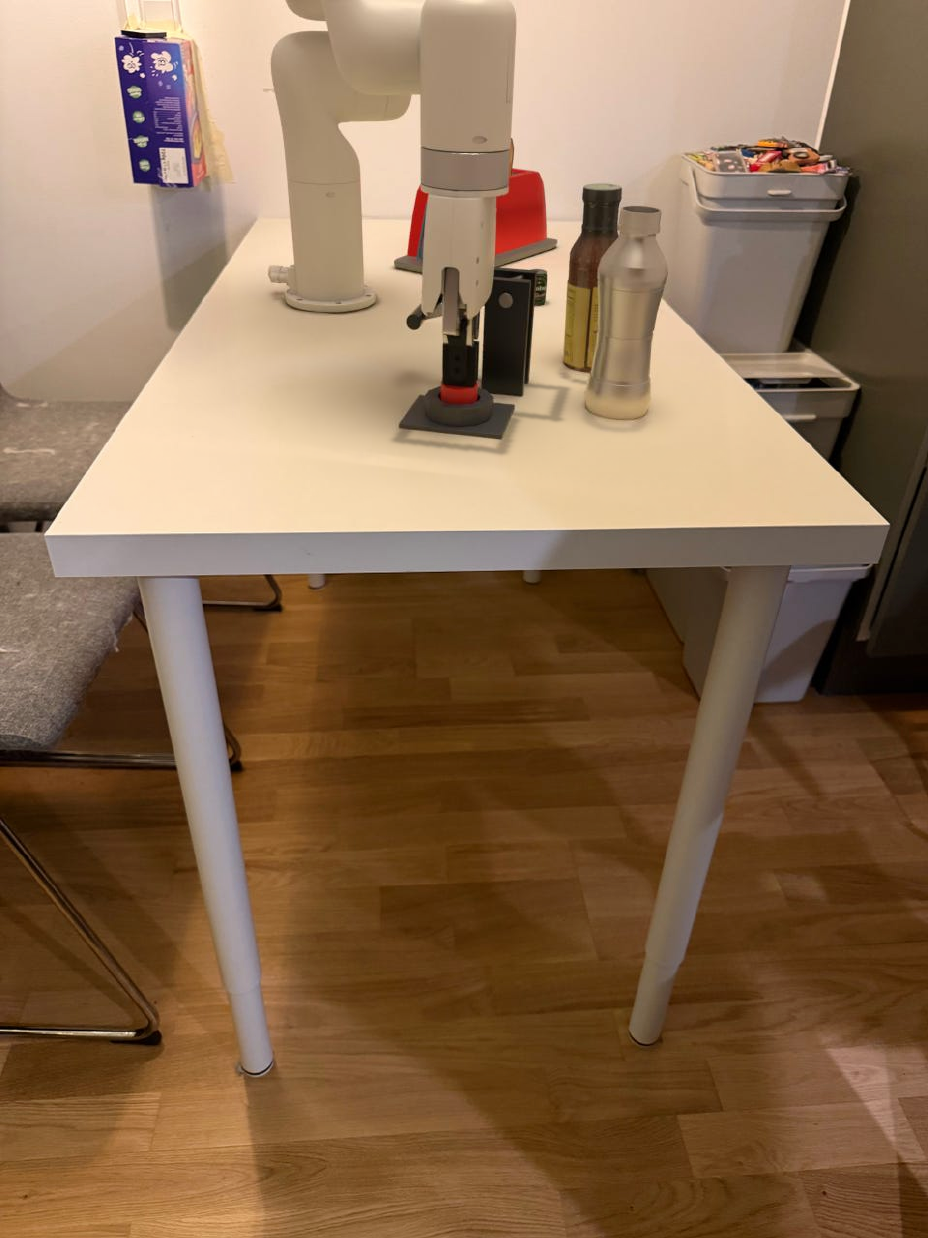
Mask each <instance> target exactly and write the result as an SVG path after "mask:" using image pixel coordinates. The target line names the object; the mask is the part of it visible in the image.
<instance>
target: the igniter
mask: <svg viewBox="0 0 928 1238" xmlns="http://www.w3.org/2000/svg"><path fill="white" fill-rule="evenodd" d="M515 409H516V404H512V403H503V402H495V401H494V395H493V394H490V393H489V392H488V391H487V390H484V389H482V388H481V387H479V386H478V398H477V402H474V403H472V404H462V405H459V404H450V403H447V402H444V401H441V385H439V386H436V387H434V388H433V387H432V388H431V389H428V390H427V392H426V393H425V394H419V395H418V396H417V398H416V399H415V400H414V402H413V403H412V405H411V406H410V408H409V409H408V410H407V412H406V413H405V415H404V416H403V417H402V419H401V420H400V422H399V423H398V428H399V429H402V430H413V431H420V432H429V433H430V432H431V433H438V434H439V433H440V434H447V435H457V436H464V437H474V438H484V439H493V440H502V439H503V438H504V435H505V433H506V431H507V427H508V425H509V423H510V421H511V419H512V416H513V415H514V412H515Z"/></svg>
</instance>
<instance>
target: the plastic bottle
mask: <svg viewBox="0 0 928 1238" xmlns="http://www.w3.org/2000/svg"><path fill="white" fill-rule="evenodd" d="M619 211H620V212H619V217H618V223H617V232H619V233H618V235H619V237H618V238H617V239H616V240H615V241H614V243H613V244H612V245H611V246H610V247H609V248H608V250H607V251H606V253H605V254H604V255H603V257H602V258H601V261H600V264H599V266H598V276H597V278H598V307H599V309H598V329H597V341H596V347H595V352H594V357H593V363H592V368H591V371H590V373H588V378H587V380H586V385H585V389H584V403H585V408H586V409H587V411H589V412H590V413H592V414H593V415H596V416H598V417H602V418H606V419H610V420H617V421H618V420H621V421H626V420H627V421H628V420H635V419H639V418H642V417H644V416H645V415H646V414H647V412H648V409H649V406H650V403H651V399H652V381H651V363H652V362H651V361H652V345H653V339H654V331H655V328H656V322H657V317H658V313H659V309H660V305H661V302H662V298H663V295H664V290H665V287H666V285H667V279H668V275H669V270H668V269H669V268H668V262H667V260H666V257H665V254H664V252H663V250H662V248H661V247H660V244H659V242H658V241H657V235H659V234H660V232H661V220H662V209H660V208H657V207H653V206H645V205H626V206H622V207H621V208H620V210H619Z"/></svg>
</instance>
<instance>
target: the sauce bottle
mask: <svg viewBox="0 0 928 1238" xmlns="http://www.w3.org/2000/svg"><path fill="white" fill-rule="evenodd" d="M622 195H623V187H622V186H621V185H619V184H613V183H607V182H606V183H605V182H601V183H600V182H599V183H598V182H597V183H587V184H585V185H583V186H582V193H581V200H582V203H583V209H582V223H581V226H580V229H581V230H580V231H581V232H580V234H579V236H578V237H577V239H576V241H575V242H574V244H573V246H572V247H571V249H570V252H569V261H568V278H567V283H566V302H565V321H564V322H565V323H564V337H563V338H564V339H563V356H562V357H563V358H562V360H563V363H564V364H565V366H566V367H568V368H569V369H571V370H574V371H578V372H582V373H587V374H590V371H591V368H592V363H593V357H594V352H595V347H596V341H597V329H598V309H599V307H598V278H597V276H598V266H599V264H600V261H601V258H602V257H603V255H604V254H605V253H606V251H607V250H608V248H609V247H610V246H611V245H612V244H613V243H614V241H615V240H616V239H617V238H618V237H619V231H618V230H617V224H618V223H619V211H620V210H619V209H620V203H621V201H622V199H623V197H622Z"/></svg>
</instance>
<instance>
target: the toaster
mask: <svg viewBox="0 0 928 1238" xmlns="http://www.w3.org/2000/svg"><path fill="white" fill-rule="evenodd" d="M514 144H515V143H514V140H513V138H512V137H511V148H510V168H509V190H508V193H507V194H505V195H501V196H496V232H495V259H494V268H495V267H500V266H503V265H506V264H510V263H511V262H512V263H513V262H516V261H519V260H522V259H524V258H528V257H531V256H534V255H537V254H540V253H544V252H546V251H550V250H551V249H554V248H556V246H557V245H558V239H557V238H551V237H548V221H547V220H548V219H547V202H546V201H547V200H546V192H545V191H546V190H545V183H544V180H543V178H542V175H541V174H540V172H538V171H535V170H529V169H521V168H513V165H514V159H515V145H514ZM428 195H429V194H428V193H425V192H423V191H421V183H420V184H419V186H418V188H417V189H416V193H415V198H414V203H413V210H412V214H411V218H410V219H411V220H410V228H409V234H408V235H409V236H408V243H407V253H406V254H407V255H404V256H403V255H402V256H400V257H398V258H396V259H395V260H393V266H394V267H396V268H398V269H401V270H407V271H412V272H415V273H420V274H422V273H423V248H424V231H425V219H426V209H427V201H428Z"/></svg>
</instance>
